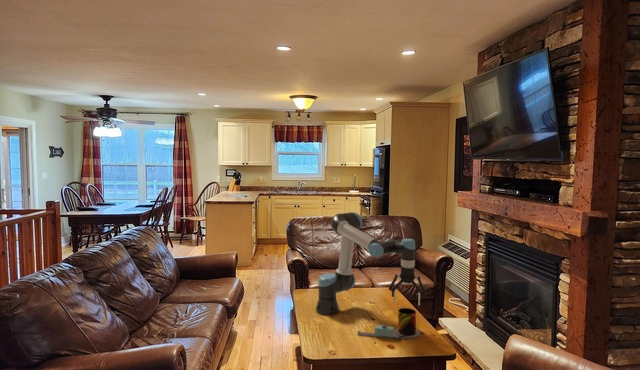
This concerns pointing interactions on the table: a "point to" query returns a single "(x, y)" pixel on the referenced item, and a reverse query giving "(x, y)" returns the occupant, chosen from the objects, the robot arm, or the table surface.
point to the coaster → (408, 336)
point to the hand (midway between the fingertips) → (406, 303)
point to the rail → (380, 336)
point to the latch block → (384, 331)
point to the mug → (407, 321)
